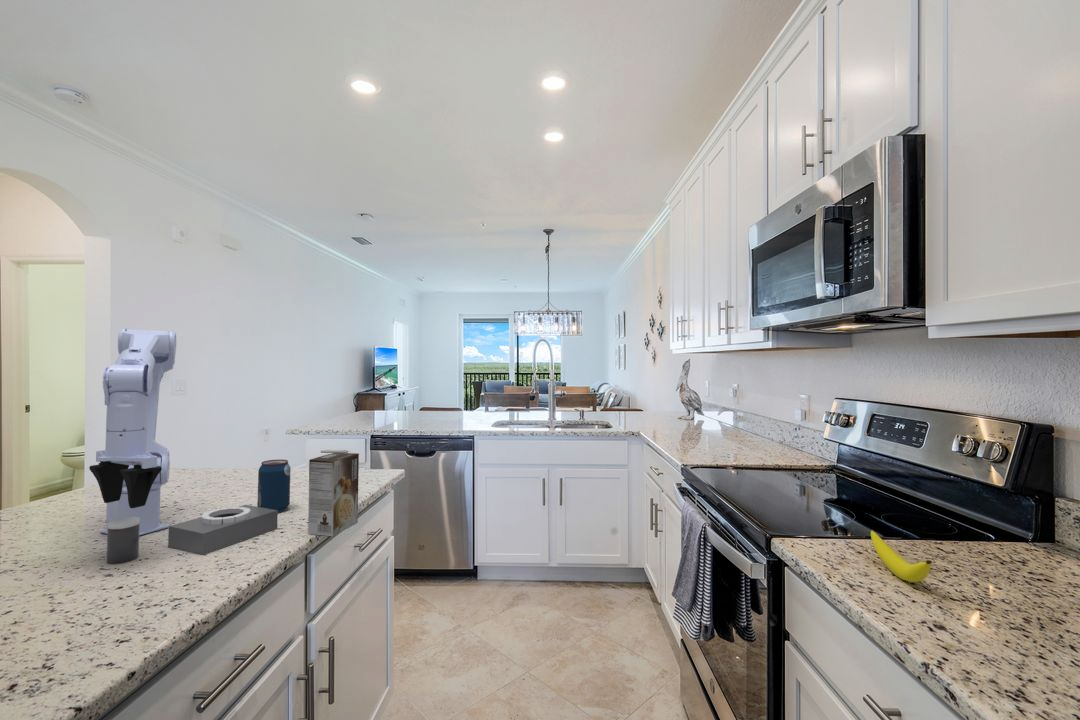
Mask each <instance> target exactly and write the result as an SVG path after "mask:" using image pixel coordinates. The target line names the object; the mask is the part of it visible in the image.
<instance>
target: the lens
mask: <svg viewBox="0 0 1080 720" xmlns="http://www.w3.org/2000/svg"><path fill="white" fill-rule="evenodd" d="M139 525H140V518H138V517H126V518H120V519H115V520H112V521H110V522H108V531H107V534H106V535H107V539H106V561H105V563H106V564H107V565H119V564H125V563H129V562H132V561H135V560H137V559H138V558H139V553H140V550H139V549H140V535H139Z"/></svg>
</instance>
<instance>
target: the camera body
mask: <svg viewBox="0 0 1080 720" xmlns="http://www.w3.org/2000/svg"><path fill="white" fill-rule="evenodd" d="M278 514H279V513H278V510H273V509H267V508H262V507H257V505H249V504H244V505H243V504H242V505H240V506H230V507H228V506H227V507H223V508H218V509H217V508H216V509H213V510H209V511H206V512H204V513H203V514H201V515H200V516H201V517H200V516H199V517H197V518H193V519H190V520H186V521H183V522H179V523H175V524H172V525H169V527H168V537H167V538H168V540H167V541H168V542H167V547H168V548H171V549H176V550H180V551H184V552H188V553H192V554H197V555H202V556H203V555H206V554H207V555H208V554H209V553H212V552H215V551H218V550H221V549H223V548H227V547H229V546H232V545H234V544H235V545H236V544H238V543H240V542H244V541H246V540H249V539H252V538H254V537H257V536H260V535H264V534H266V533H269V532H271V531H274V530H277V529H278V517H279V516H278Z"/></svg>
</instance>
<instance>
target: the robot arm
mask: <svg viewBox="0 0 1080 720" xmlns="http://www.w3.org/2000/svg"><path fill="white" fill-rule="evenodd" d="M176 351H177V333H176V332H174V330H155V329H153V330H149V329H130V328H122V329H120V330H119V331H118V336H117V352H118V357H117V358H116V361H115V362H114V363H113V364H111V365H110V366H109V367H108V366H106V367H105V368H104V369H103V370H104V371H103V374H102V388H103V393H104V405H105V406H106V417H105V418H106V419H105V421H106V423H105V448H104V449H105V450H96V452H95V462H97V463H98V464H93V465H90V466H89V470H90V471H91V473H92V475H93V476H94V477H95V480H96V482H97V485H98V486H99V490H100V494H101V497H102V501H103V503H104V504H106V509H105V511H106V512H105V513H106V516H105V528H102V529H100V533H102V534H106V535H107V531H108V522H110V521H112V520H115V519H120V518H126V517H138V518H140V525H139V536H142V535H145V534H150V533H152V532H153V533H154V532H157V531H160V530H164V529H167V528H168V529H169V526H170V525H169V524H166V523H163V522H160V521H161V520H160V519H161V518H160V516H161V492H162V491H161V487H162V486H163V485H164V486H165V485H166V484H167V483H168V482H169V478H170V465H171V464H170V462H171V461H170V451H169V450H168V448H167V447H166V446H164V445H162V444H161V443H158V442H157V441H156V434H157V433H156V432H157V420H158V412H159V411H158V410H159V408H158V407H159V400H160V399H159V398H160V397H159V396H160V386H161V382H162V380H163V379H162V378H163V376H164V374H165V373H166V372H169V371H171V370H174V365H175V363H176Z"/></svg>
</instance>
